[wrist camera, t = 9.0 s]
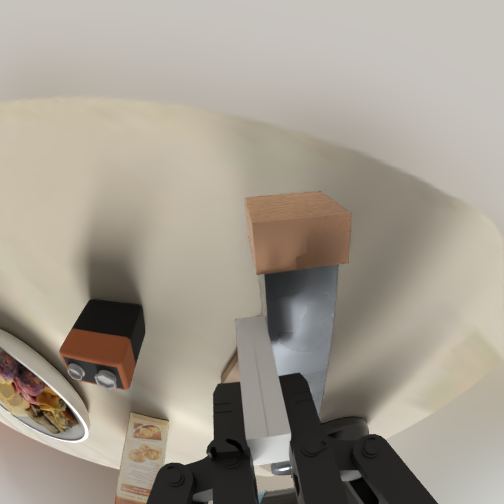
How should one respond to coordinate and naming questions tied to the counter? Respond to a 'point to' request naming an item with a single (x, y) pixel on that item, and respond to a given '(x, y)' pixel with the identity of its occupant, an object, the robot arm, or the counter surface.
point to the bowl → (39, 393)
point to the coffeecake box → (141, 458)
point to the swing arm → (299, 280)
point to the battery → (105, 344)
